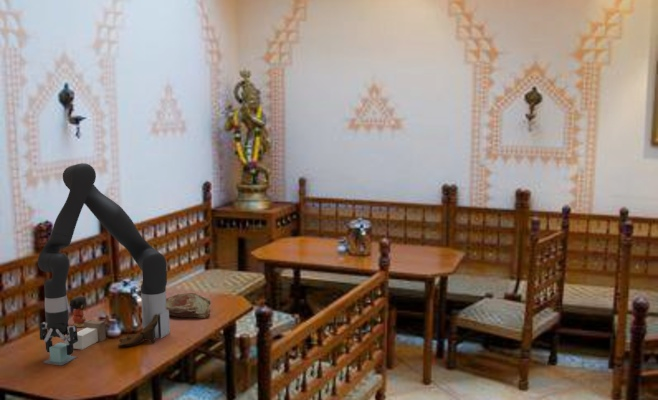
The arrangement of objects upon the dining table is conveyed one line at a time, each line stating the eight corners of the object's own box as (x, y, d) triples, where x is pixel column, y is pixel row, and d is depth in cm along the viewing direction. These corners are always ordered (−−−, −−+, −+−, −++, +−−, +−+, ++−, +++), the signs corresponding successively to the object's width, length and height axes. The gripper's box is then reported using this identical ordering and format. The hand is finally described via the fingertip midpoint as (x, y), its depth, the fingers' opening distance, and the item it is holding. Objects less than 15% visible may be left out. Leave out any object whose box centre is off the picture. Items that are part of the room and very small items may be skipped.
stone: (216, 301, 311) (214, 289, 309) (208, 319, 294) (206, 307, 293) (162, 303, 312) (161, 292, 311) (151, 321, 295) (150, 309, 294)
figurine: (84, 328, 285) (82, 299, 283) (70, 328, 285) (68, 299, 283) (89, 323, 291) (87, 294, 289) (76, 323, 291) (74, 294, 290)
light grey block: (105, 339, 273) (104, 321, 272) (85, 349, 261) (84, 331, 260) (89, 336, 275) (88, 319, 274) (69, 347, 264) (67, 329, 263)
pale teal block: (70, 357, 253) (69, 343, 253) (60, 362, 249) (59, 348, 248) (60, 356, 255) (59, 342, 254) (50, 361, 250) (49, 347, 249)
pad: (77, 357, 254) (77, 356, 254) (61, 365, 247) (61, 364, 247) (58, 354, 257) (58, 354, 257) (43, 362, 249) (42, 362, 249)
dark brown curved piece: (157, 315, 265) (115, 318, 263) (159, 343, 264) (117, 347, 261) (159, 314, 273) (118, 318, 271) (160, 342, 272) (119, 346, 269)
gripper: (80, 307, 250) (83, 351, 253) (47, 303, 255) (50, 347, 257) (66, 313, 243) (69, 359, 246) (32, 309, 248) (35, 354, 250)
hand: (59, 353), depth 251 cm, fingers open, 8 cm apart
